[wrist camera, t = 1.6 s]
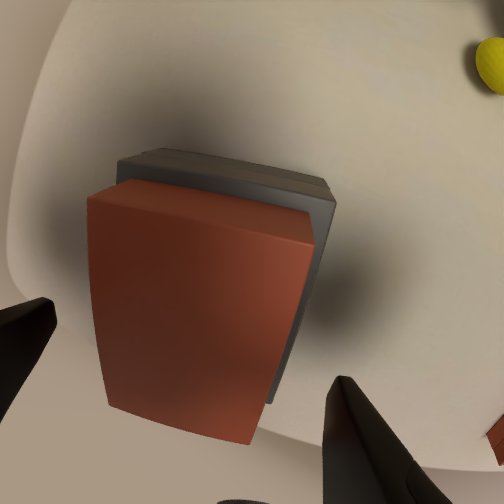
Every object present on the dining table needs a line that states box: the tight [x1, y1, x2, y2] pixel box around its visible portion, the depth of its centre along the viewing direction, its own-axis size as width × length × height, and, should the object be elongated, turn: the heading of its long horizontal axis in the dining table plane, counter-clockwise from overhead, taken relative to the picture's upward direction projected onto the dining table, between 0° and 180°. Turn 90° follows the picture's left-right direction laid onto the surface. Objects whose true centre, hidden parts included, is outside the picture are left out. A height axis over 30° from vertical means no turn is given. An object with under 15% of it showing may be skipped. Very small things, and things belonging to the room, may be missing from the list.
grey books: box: [116, 148, 337, 404], centre depth 12 cm, size 9×7×4 cm
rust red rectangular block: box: [87, 178, 316, 445], centre depth 9 cm, size 8×6×2 cm
